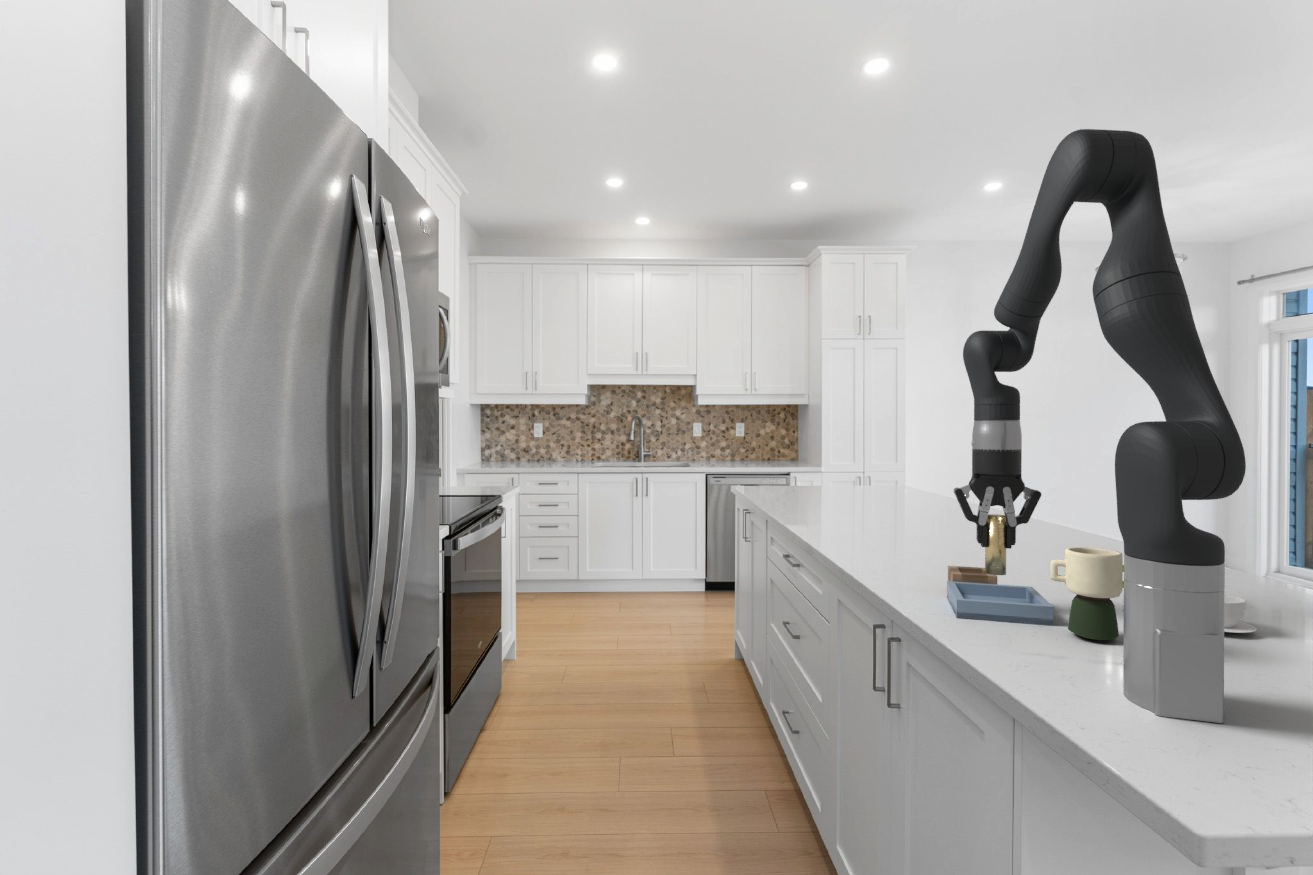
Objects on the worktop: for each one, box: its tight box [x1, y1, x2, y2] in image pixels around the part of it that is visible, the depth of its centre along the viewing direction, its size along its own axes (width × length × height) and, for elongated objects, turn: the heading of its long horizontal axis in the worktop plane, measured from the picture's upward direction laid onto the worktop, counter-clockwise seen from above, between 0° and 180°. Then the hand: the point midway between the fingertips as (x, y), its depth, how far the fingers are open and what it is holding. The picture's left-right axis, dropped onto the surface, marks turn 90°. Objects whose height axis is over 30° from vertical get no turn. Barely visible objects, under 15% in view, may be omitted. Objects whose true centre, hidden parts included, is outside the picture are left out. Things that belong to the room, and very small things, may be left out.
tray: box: [946, 580, 1054, 627], centre depth 111 cm, size 14×14×3 cm
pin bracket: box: [947, 565, 998, 584], centre depth 124 cm, size 8×8×4 cm
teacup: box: [1224, 593, 1258, 634], centre depth 103 cm, size 10×10×5 cm
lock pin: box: [984, 513, 1007, 576], centre depth 111 cm, size 3×3×10 cm
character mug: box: [1049, 546, 1124, 641], centre depth 96 cm, size 11×7×13 cm, turn 59°
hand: (995, 546), depth 111 cm, fingers closed on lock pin, 3 cm apart
